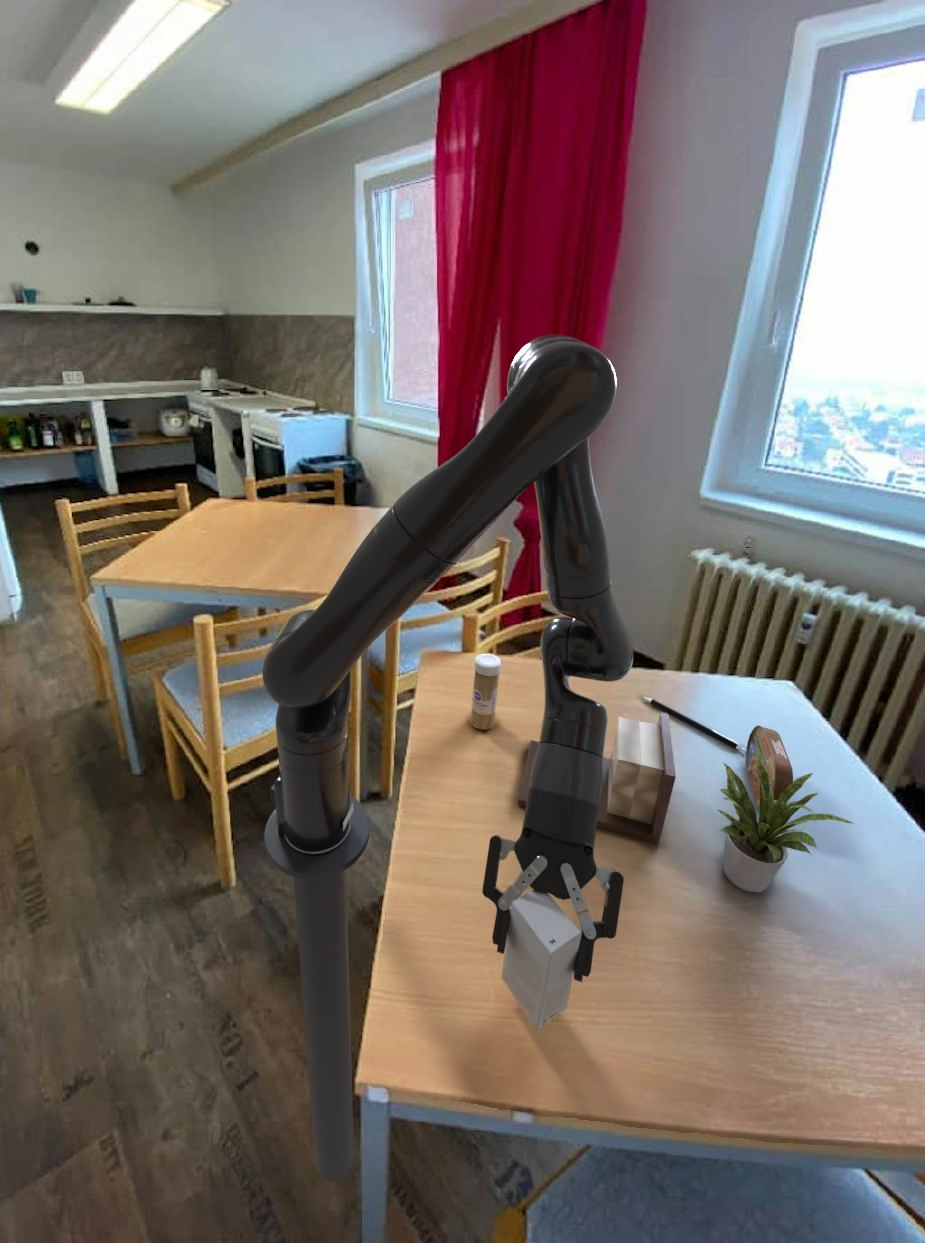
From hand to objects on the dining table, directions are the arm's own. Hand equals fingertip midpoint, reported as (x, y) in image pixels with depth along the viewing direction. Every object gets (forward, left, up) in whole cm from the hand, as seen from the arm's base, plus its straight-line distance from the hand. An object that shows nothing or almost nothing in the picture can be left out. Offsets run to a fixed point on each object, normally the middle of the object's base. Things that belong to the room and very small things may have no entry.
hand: (538, 964), depth 58 cm
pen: (+21, +58, -9) cm, 63 cm away
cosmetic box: (0, +2, -7) cm, 7 cm away
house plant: (+26, +27, -9) cm, 39 cm away
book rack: (+4, +35, -9) cm, 37 cm away
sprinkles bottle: (-15, +45, -9) cm, 49 cm away
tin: (+30, +45, -9) cm, 55 cm away
